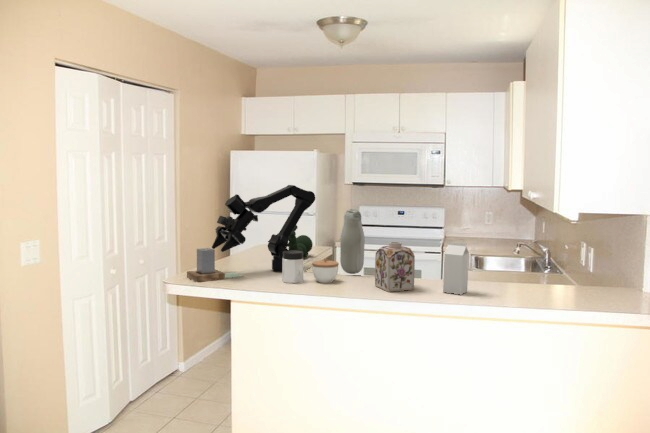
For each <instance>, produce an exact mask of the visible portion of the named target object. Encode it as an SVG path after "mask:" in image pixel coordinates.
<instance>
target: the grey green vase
mask: <svg viewBox="0 0 650 433" xmlns="http://www.w3.org/2000/svg"><path fill="white" fill-rule="evenodd" d="M339 238H340V242H339V243H340V244H339V246H340V249H339V250H340V254H339V255H340V258H339V259H340V266H341V269H342V270H343V271H344V272H345V273H347V274H351V275H355V274H359V272H362V270H363V268H364V263H365V240H366V239H365V231H364V228H363V223H362V214H361V212H360V210H358V209H351V208H349V209H347V210H346V211H345V212H344V216H343V225H342V229H341V232H340V237H339Z"/></svg>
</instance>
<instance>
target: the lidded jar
mask: <svg viewBox="0 0 650 433" xmlns="http://www.w3.org/2000/svg"><path fill="white" fill-rule="evenodd" d="M311 265H312V267H311V268H312V274H313V276H314V278H315V280H317V282H318V283H321V284H323V283H324V284H329V283H333V281H335V279H336V278H337V276H338V272H339V262H338V261H336V260H328V259H327V258H323V259H321V260H314V261H312V263H311Z"/></svg>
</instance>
